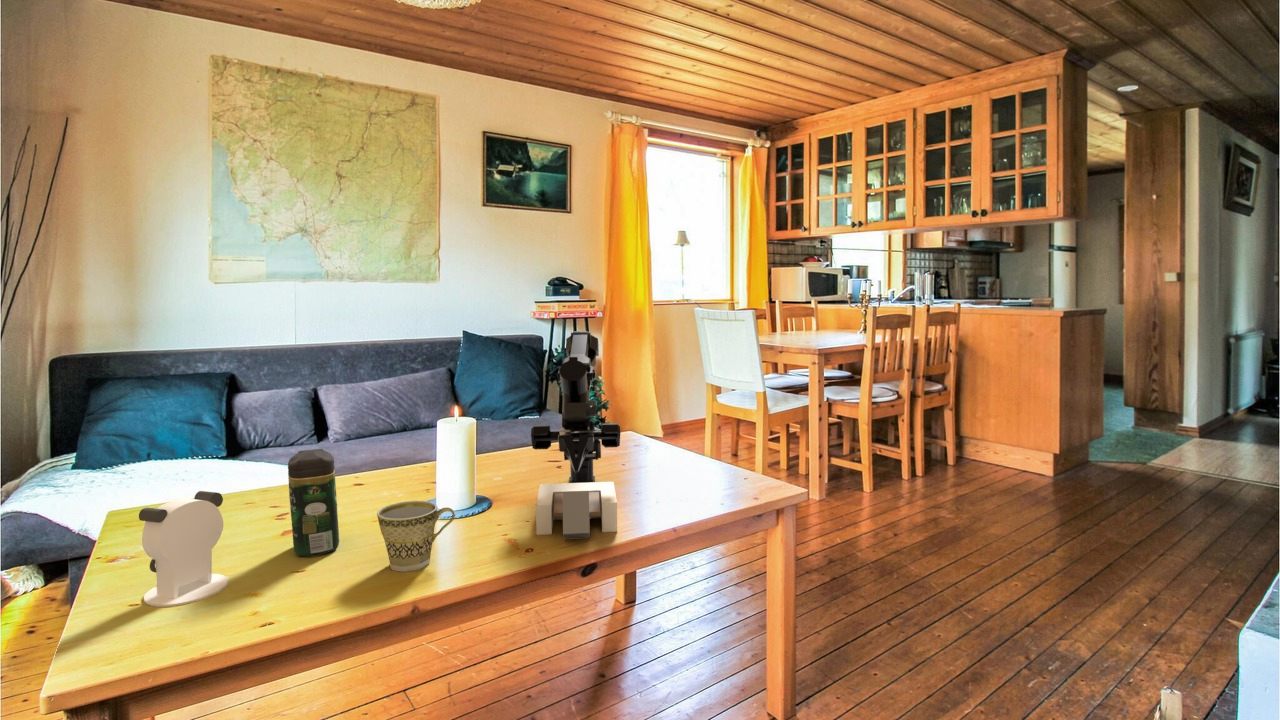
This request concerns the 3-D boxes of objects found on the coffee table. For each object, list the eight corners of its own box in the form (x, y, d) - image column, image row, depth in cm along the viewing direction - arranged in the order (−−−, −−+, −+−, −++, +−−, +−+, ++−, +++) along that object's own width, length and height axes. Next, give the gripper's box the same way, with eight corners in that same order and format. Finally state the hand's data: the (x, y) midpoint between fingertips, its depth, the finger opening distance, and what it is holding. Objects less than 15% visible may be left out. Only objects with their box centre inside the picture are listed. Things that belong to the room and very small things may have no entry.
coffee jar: (293, 543, 128) (287, 448, 126) (338, 536, 132) (333, 444, 130) (292, 561, 120) (285, 460, 118) (340, 553, 123) (335, 455, 121)
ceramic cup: (381, 580, 112) (378, 522, 111) (378, 558, 121) (375, 505, 120) (460, 567, 117) (458, 511, 116) (452, 547, 126) (450, 495, 125)
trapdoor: (554, 495, 140) (554, 491, 140) (598, 493, 141) (598, 490, 140) (553, 517, 132) (553, 513, 132) (600, 515, 133) (600, 511, 132)
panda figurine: (196, 570, 116) (189, 486, 115) (247, 578, 113) (241, 492, 111) (125, 601, 105) (117, 508, 103) (180, 610, 101) (172, 515, 100)
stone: (562, 491, 128) (562, 533, 125) (588, 491, 129) (589, 532, 125) (563, 498, 133) (563, 539, 129) (588, 497, 133) (589, 538, 130)
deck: (540, 510, 146) (540, 484, 146) (613, 508, 148) (613, 481, 147) (536, 534, 132) (535, 505, 131) (617, 531, 133) (616, 502, 133)
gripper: (530, 387, 140) (527, 452, 130) (619, 385, 141) (623, 449, 131) (534, 417, 148) (531, 480, 139) (617, 415, 150) (621, 477, 140)
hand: (576, 471), depth 137 cm, fingers closed
